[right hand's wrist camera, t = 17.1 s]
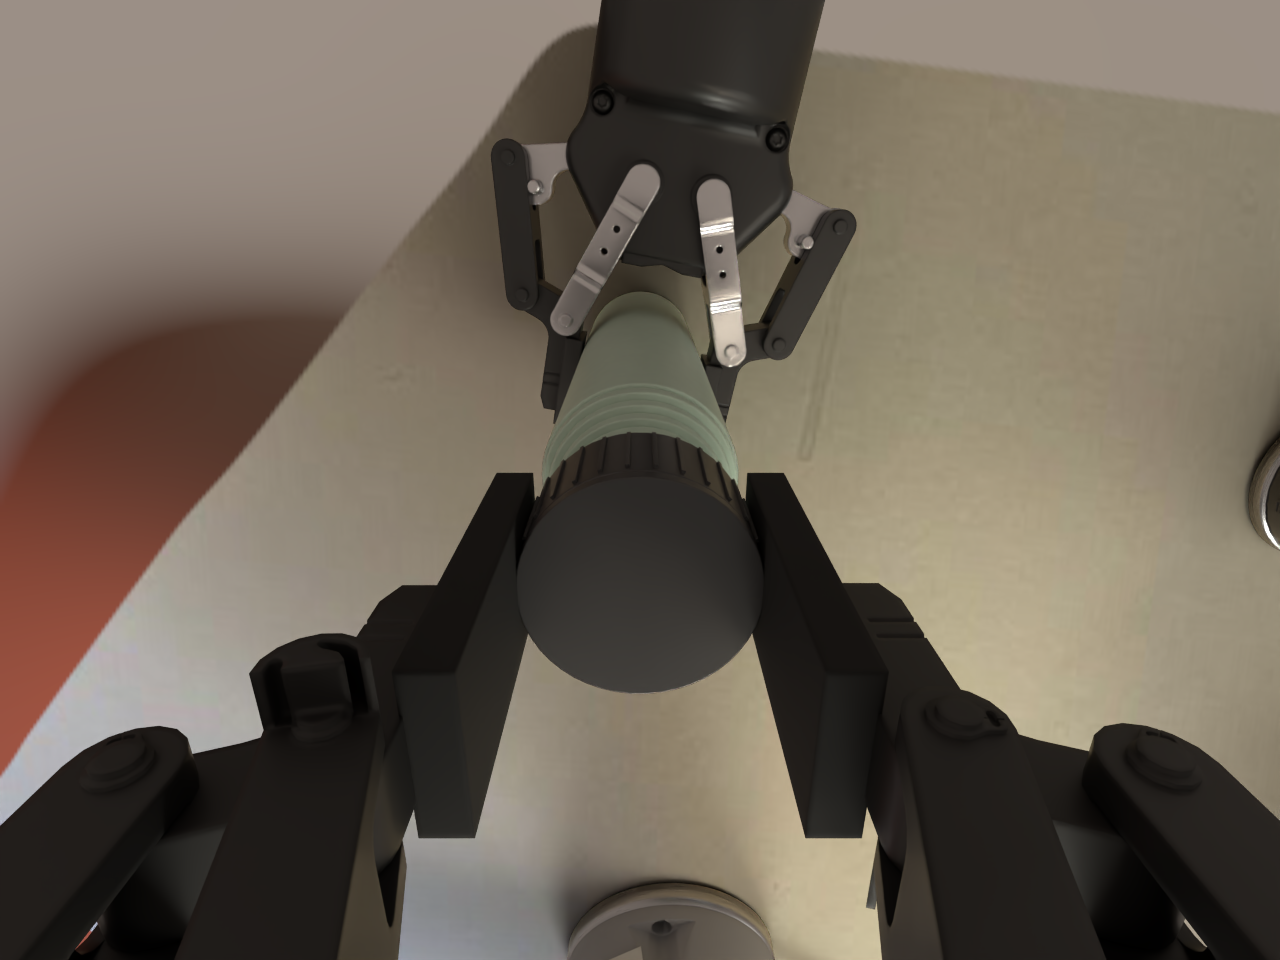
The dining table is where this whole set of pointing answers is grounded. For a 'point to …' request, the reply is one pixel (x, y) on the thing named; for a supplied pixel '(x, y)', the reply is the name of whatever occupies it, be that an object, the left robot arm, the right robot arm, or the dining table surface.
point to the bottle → (640, 384)
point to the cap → (640, 565)
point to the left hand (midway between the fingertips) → (629, 430)
